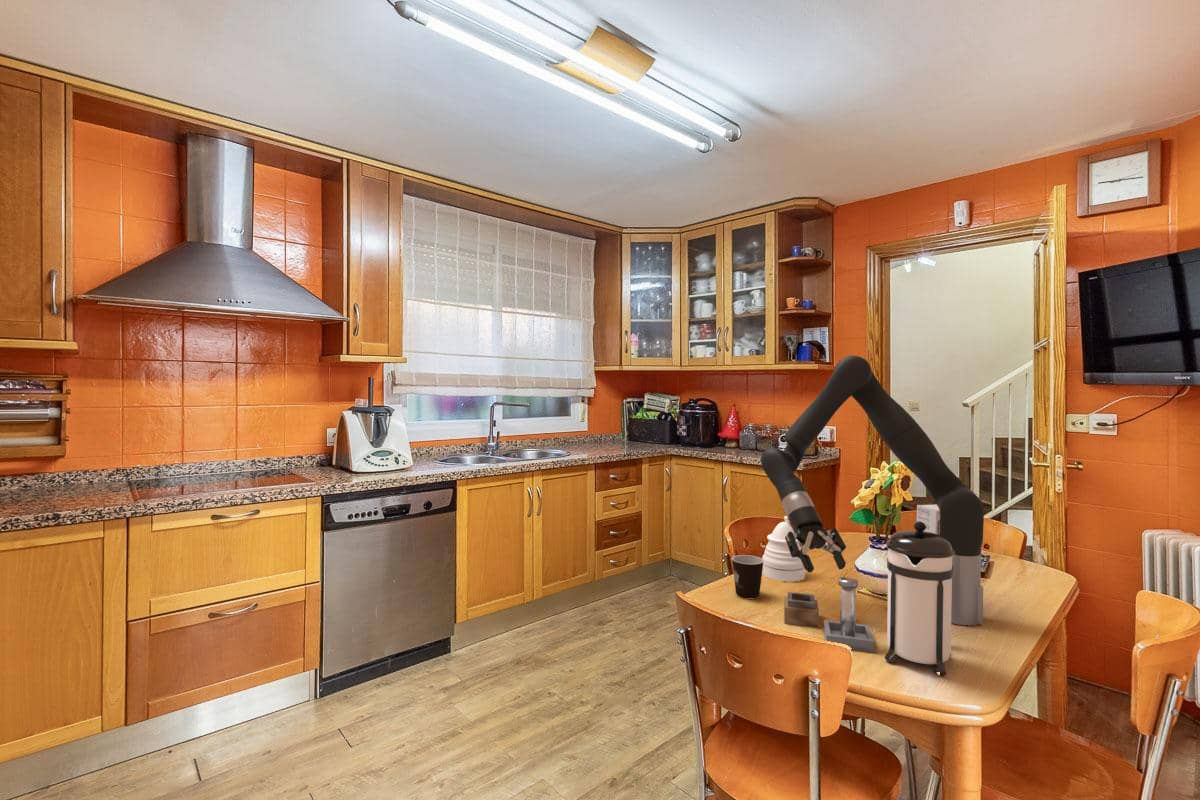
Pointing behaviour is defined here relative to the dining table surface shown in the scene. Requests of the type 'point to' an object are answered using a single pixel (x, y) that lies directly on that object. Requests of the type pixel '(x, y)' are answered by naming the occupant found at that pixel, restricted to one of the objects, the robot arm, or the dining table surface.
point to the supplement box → (929, 517)
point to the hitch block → (801, 609)
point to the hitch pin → (848, 606)
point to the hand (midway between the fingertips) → (827, 569)
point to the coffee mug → (747, 575)
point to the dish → (859, 642)
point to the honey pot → (782, 556)
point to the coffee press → (919, 597)
